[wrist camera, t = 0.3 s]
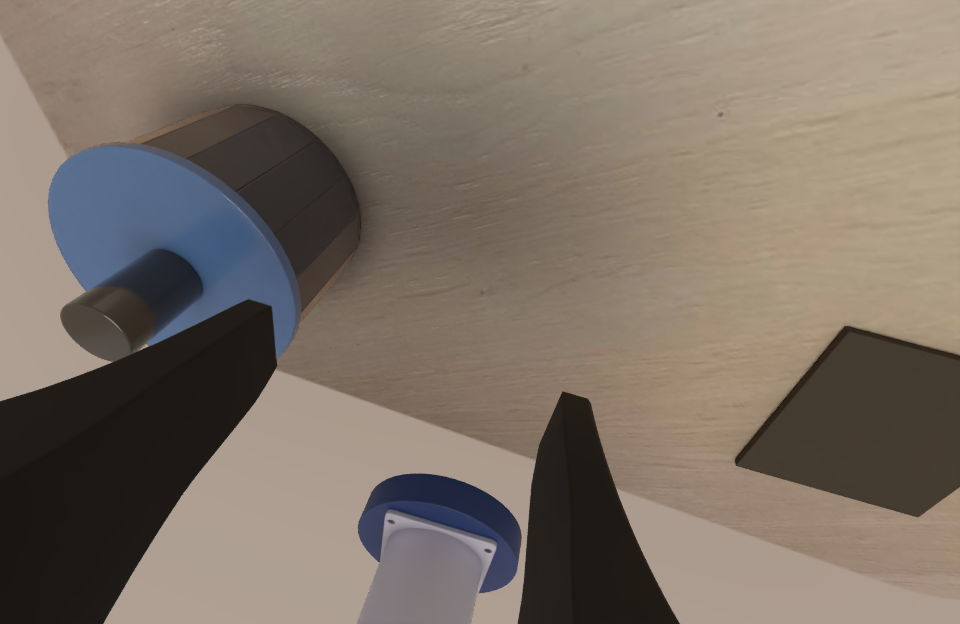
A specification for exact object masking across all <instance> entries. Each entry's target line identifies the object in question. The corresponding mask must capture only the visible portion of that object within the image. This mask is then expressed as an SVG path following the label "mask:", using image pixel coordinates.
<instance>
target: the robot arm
mask: <svg viewBox="0 0 960 624" xmlns="http://www.w3.org/2000/svg"><path fill="white" fill-rule="evenodd" d="M276 367H277V359H276V348H275V336H274V324H273V312H272V306H270V305H267V304H263V303H260V302H257V301H253V300H250V299H247V300H245V301H243V302H241V303H238V304H236V305H234V306H232V307H230V308H228V309H226V310H224V311H222V312H220V313H218V314H216V315H214V316H212V317H210V318H208V319H206V320H204V321H202V322H200V323H198V324H196V325H194V326H192V327H189V328H187V329H185V330H183V331H181V332H179V333H177V334H175V335H173V336H171V337H169V338H166V339H164V340H162V341H160V342H158V343H156V344H154V345H151V346H149V347H147V348H144V349H142V350H140V351H137V352H135V353H133V354H131V355H128V356H126V357H124V358H121V359H119V360H117V361H114V362H112V363H110V364H107V365H105V366H103V367H100V368H97V369H95V370H93V371H90V372H87V373H84V374H82V375H79V376H76V377H74V378H71V379H68V380H65V381H62V382H60V383H57V384H54V385H51V386H48V387H46V388H42V389H39V390H36V391H33V392H30V393H26V394H23V395H20V396H16V397H13V398H10V399H7V400H3V401H0V624H103V623H104V621H105V619H106V618H107V616H108V614H109V612H110V611H111V609H112V607H113V606H114V604H115V602H116V600H117V599H118V597H119V595H120V594H121V592H122V590H123V588H124V587H125V585H126V583H127V582H128V580H129V578H130V576H131V575H132V573H133V571H134V569H135V568H136V566H137V565H138V563H139V562H140V560H141V558H142V557H143V555H144V553H145V552H146V550H147V549H148V547H149V545H150V544H151V542H152V541H153V539H154V537H155V536H156V534H157V533H158V531H159V529H160V528H161V526H162V525H163V523H164V522H165V520H166V519H167V517H168V516H169V514H170V513H171V511H172V509H173V508H174V507H175V505H176V503H177V502H178V501H179V499H180V497H181V496H182V495H183V493H184V492H185V490H186V489H187V488H188V486H189V485H190V483H191V482H192V481H193V480H194V478H195V477H196V476H197V474H198V473H199V472H200V470H201V469H202V468H203V467H204V465H205V464H206V463H207V462H208V460H209V459H210V458H211V457H212V456H213V454H214V453H215V452H216V451H217V449H218V448H219V447H220V446H221V444H222V443H223V442H224V441H225V439H226V438H227V437H228V436H229V435H230V433H231V432H232V431H233V430H234V428H235V427H236V426H237V425H238V423H239V422H240V421H241V420H242V418H243V417H244V416H245V415H246V413H247V412H248V411H249V410H250V408H251V407H252V406H253V404H254V403H255V402H256V400H257V399H258V397H259V396H260V394H261V392H262V391H263V389H264V388H265V386H266V384H267V382H268V381H269V379H270V378H271V376H272V374H273V372H274V371H275V369H276ZM496 548H497V542H496V541H495V540H493V539H491V538H487V537H484V536H481V535H477V534H474V533H471V532H467V531H464V530H461V529H457V528H454V527H451V526H447V525H444V524H441V523H437V522H434V521H431V520H428V519H424V518H421V517H418V516H414V515H411V514H408V513H404V512H401V511H398V510H394V509H389V510H387V512H386V514H385V521H384V530H383V539H382V548H381V558H380V563H379V566H378V568H377V571H376V574H375V576H374V579H373V582H372V585H371V587H370V590H369V592H368V595H367V598H366V600H365V603H364V606H363V608H362V611H361V614H360V616H359V619H358V622H357V624H471V621H472V616H473V611H474V606H475V601H476V598H477V595H478V593H479V591H480V588H481V586H482V583H483V581H484V578H485V576H486V573H487V571H488V568H489V566H490V563H491V561H492V558H493V556H494V554H495V551H496ZM518 624H680V623H679V622H678V620H677V618H676V616H675V615H674V613H673V611H672V610H671V608H670V606H669V604H668V602H667V601H666V598H665V597H664V595H663V593H662V591H661V589H660V587H659V585H658V583H657V581H656V579H655V577H654V575H653V573H652V572H651V569H650V567H649V565H648V563H647V561H646V559H645V557H644V555H643V553H642V551H641V548H640V546H639V544H638V542H637V540H636V537H635V535H634V533H633V530H632V528H631V526H630V523H629V521H628V518H627V516H626V514H625V511H624V509H623V506H622V503H621V501H620V498H619V496H618V493H617V490H616V487H615V484H614V482H613V479H612V476H611V473H610V470H609V467H608V464H607V461H606V458H605V455H604V452H603V448H602V445H601V442H600V438H599V435H598V431H597V427H596V423H595V419H594V415H593V411H592V407H591V403H590V401H589V400H588V399H587V398H583V397H580V396H576V395H573V394H570V393H566V392H562V394H561V396H560V398H559V401H558V403H557V405H556V408H555V410H554V412H553V414H552V417H551V419H550V421H549V424H548V426H547V428H546V430H545V433H544V435H543V437H542V440H541V442H540V444H539V448H538V453H537V459H536V464H535V469H534V474H533V480H532V485H531V497H530V510H529V522H528V535H527V548H526V562H525V574H524V584H523V593H522V601H521V607H520V613H519V619H518Z"/></svg>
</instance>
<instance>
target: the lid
mask: <svg viewBox="0 0 960 624" xmlns="http://www.w3.org/2000/svg"><path fill="white" fill-rule="evenodd" d="M48 209H49V210H48V211H49V219H50V224H51V228H52V231H53V234H54V237H55V240H56V243H57V245H58V247H59V250H60V252H61V254H62V256H63V258H64V260H65V261H66V263H67V265H68V267H69V268H70V270H71V271H72V273H73V275H74V276H75V277H76V279H77V280H78V282H79V283H80V284H81V286H82V287H83V288H84V289H85V291H86V292H85V293H83V294H82V295H80V296H79V297H77V298H75V299H74V300H72V301H71V302H69V303H68V304H66V305H65V306H64V307H63V308H62V310H61V313H60V318H61V322H62V324H63V326H64V328H65V329H66V331H67V333H68V334H69V335H70V336H71V337H72V339H73V340H74V341H75V342H76V343H78V344H79V345H80V346H81V347H82V348H84V349H85V350H86V351H88V352H90V353H91V354H93V355H95V356H97V357H99V358H101V359H104V360H107V361H111V362H114V361H117V360H119V359H121V358H124V357H126V356H128V355H131V354H133V353H135V352H137V351H139V350H140V349H141V348H142V347H143V346H145V345H146V344H147V345H149V346H151V345H154V344H156V343H158V342H160V341H162V340H164V339H166V338H169V337H171V336H173V335H175V334H177V333H179V332H181V331H183V330H185V329H187V328H189V327H192V326H194V325H196V324H198V323H200V322H202V321H204V320H206V319H208V318H210V317H212V316H214V315H216V314H218V313H220V312H222V311H224V310H226V309H228V308H230V307H232V306H234V305H236V304H238V303H241V302H243V301H245V300H247V299H250V300H253V301H257V302H260V303H263V304H267V305H270V306H272V312H273V324H274V336H275V348H276V359H278V358H279V357H280V356H281V355H282V354H283V353H284V352H285V350H286V349H287V348H288V347H289V345H290V344H291V342H292V341H293V339H294V338H295V336H296V333H297V331H298V328H299V323H300V318H301V298H300V290H299V286H298V283H297V279H296V275H295V273H294V270H293V268H292V265H291V263H290V261H289V258H288V257H287V255H286V253H285V251H284V249H283V247H282V246H281V244H280V242H279V241H278V239H277V238H276V236H275V235H274V233H273V232H272V231H271V229H270V228H269V226H268V225H267V224H266V223H265V222H264V220H263V219H262V218H261V217H260V216H259V214H258V213H257V212H256V211H255V210H254V209H253V208H252V207H251V206H250V205H249V204H248V203H247V202H246V201H245V200H244V199H243V198H242V197H241V196H240V195H239V194H237V193H236V192H235V191H234V190H233V189H232V188H230V187H229V186H228V185H227V184H226V183H224V182H223V181H221V180H220V179H219V178H217V177H216V176H214V175H213V174H211V173H210V172H209V171H207V170H205V169H203V168H202V167H200V166H198V165H197V164H195V163H193V162H191V161H189V160H187V159H185V158H183V157H181V156H178V155H176V154H174V153H172V152H169V151H166V150H162V149H159V148H156V147H153V146H148V145H143V144H138V143H127V142H114V143H104V144H100V145H97V146H94V147H91V148H88V149H85V150H82V151H80V152H78V153H76V154H75V155H73V156H71V157H69V158H68V159H67V160H66V161H65V162H64V163H63V164H62V165H61V166H60V167H59V169H58V170H57V172H56V174H55V175H54V177H53V179H52V183H51V186H50V189H49V198H48Z"/></svg>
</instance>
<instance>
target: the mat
mask: <svg viewBox="0 0 960 624" xmlns="http://www.w3.org/2000/svg"><path fill="white" fill-rule="evenodd" d="M735 463H736V466H738V467H742V468H745V469H749V470H753V471H756V472H760V473H763V474H767V475H770V476H774V477H777V478H781V479H784V480H788V481H791V482H795V483H798V484H802V485H806V486H809V487H813V488H816V489H820V490H823V491H827V492H830V493H834V494H837V495H841V496H844V497H848V498H851V499H855V500H859V501H862V502H866V503H869V504H873V505H876V506H880V507H883V508H887V509H890V510H894V511H897V512H901V513H904V514H908V515H912V516H915V517H919V516H920V515H922V514H923V513H925V512H926V511H927V510H929V509H930V508H931V507H933V506H934V505H936V504H937V503H938V502H940V501H941V500H942V499H944V498H945V497H947V496H948V495H949V494H951V493H952V492H953V491H955V490H956V489H958V488H959V487H960V356H956V355H952V354H949V353H945V352H941V351H937V350H933V349H930V348H926V347H922V346H918V345H914V344H911V343H907V342H903V341H899V340H895V339H891V338H888V337H884V336H880V335H876V334H872V333H869V332H865V331H861V330H857V329H853V328H850V327H845V328H844V329H843V330H842V332H841V333H840V334H839V335H838V337H837V338H836V339H835V340H834V341H833V343H832V344H831V345H830V346H829V347H828V349H827V350H826V351H825V352H824V353H823V355H822V356H821V357H820V358H819V359H818V361H817V362H816V363H815V364H814V365H813V367H812V368H811V369H810V370H809V371H808V373H807V374H806V375H805V376H804V378H803V379H802V380H801V381H800V382H799V384H798V385H797V386H796V387H795V388H794V390H793V391H792V392H791V393H790V394H789V396H788V397H787V398H786V399H785V400H784V402H783V403H782V404H781V405H780V406H779V408H778V409H777V410H776V411H775V412H774V414H773V415H772V416H771V417H770V419H769V420H768V421H767V422H766V423H765V425H764V426H763V427H762V428H761V429H760V431H759V432H758V433H757V434H756V435H755V437H754V438H753V439H752V440H751V441H750V443H749V444H748V445H747V446H746V447H745V449H744V450H743V451H742V452H741V453H740V455H739V456H738V457H737V458H736V460H735Z"/></svg>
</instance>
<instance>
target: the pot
mask: <svg viewBox="0 0 960 624" xmlns="http://www.w3.org/2000/svg"><path fill="white" fill-rule="evenodd" d="M127 143H138V144H143V145H148V146H153V147H156V148H159V149H162V150H166V151H169V152H172V153H174V154H176V155H178V156H181V157H183V158H185V159H187V160H189V161H191V162H193V163H195V164H197V165H198V166H200V167H202V168H203V169H205V170H207V171H209V172H210V173H211V174H213V175H214V176H216V177H217V178H219V179H220V180H221V181H223V182H224V183H226V184H227V185H228V186H229V187H230V188H232V189H233V190H234V191H235V192H236V193H237V194H239V195H240V196H241V197H242V198H243V199H244V200H245V201H246V202H247V203H248V204H249V205H250V206H251V207H252V208H253V209H254V210H255V211H256V212H257V213H258V214H259V216H260V217H261V218H262V219H263V220H264V222H265V223H266V224H267V225H268V226H269V228H270V229H271V231H272V232H273V233H274V235H275V236H276V238H277V239H278V241H279V242H280V244H281V246H282V247H283V249H284V251H285V253H286V255H287V257H288V258H289V261H290V263H291V265H292V268H293V270H294V273H295V275H296V279H297V283H298V286H299V290H300V298H301V318H300V323H301V322H302V321H303V320H304V319H305V317H306V316H307V315H308V314H309V313H310V311H311V310H312V309H313V308H314V307H315V305H316V304H317V303H318V302H319V301H320V299H321V298H322V297H323V296H324V295H325V293H326V292H327V291H328V290H329V288H330V287H331V286H332V285H333V284H334V282H335V281H336V280H337V279H338V278H339V276H340V275H341V274H342V273H343V272H344V270H345V268H346V266H347V265H348V263H349V262H350V260H351V259H352V257H353V255H354V253H355V251H356V249H357V246H358V242H359V238H360V228H361V225H360V212H359V207H358V202H357V199H356V196H355V192H354V190H353V188H352V185H351V183H350V181H349V179H348V177H347V175H346V173H345V171H344V170H343V168H342V166H341V165H340V164H339V162H338V161H337V159H336V158H335V157H334V155H333V154H332V153H331V152H330V151H329V149H328V148H327V147H326V146H325V145H324V144H323V143H322V142H321V141H320V140H319V139H318V138H317V137H316V136H315V135H314V134H312V133H311V132H310V131H308V130H307V129H306V128H304V127H303V126H302V125H300V124H299V123H297V122H295V121H294V120H292V119H290V118H289V117H286V116H284V115H282V114H280V113H278V112H275V111H272V110H269V109H266V108H263V107H258V106H253V105H238V104H237V105H229V106H224V107H221V108H217V109H214V110H209V111H205V112H202V113H199V114H197V115H194V116H192V117H189V118H187V119H184V120H181V121H179V122H176V123H174V124H171V125H169V126H166V127H164V128H161V129H158V130H156V131H153V132H151V133H148V134H146V135H143V136H141V137H138V138H135V139H133V140H130V141H128V142H127ZM300 323H299V325H300Z"/></svg>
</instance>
